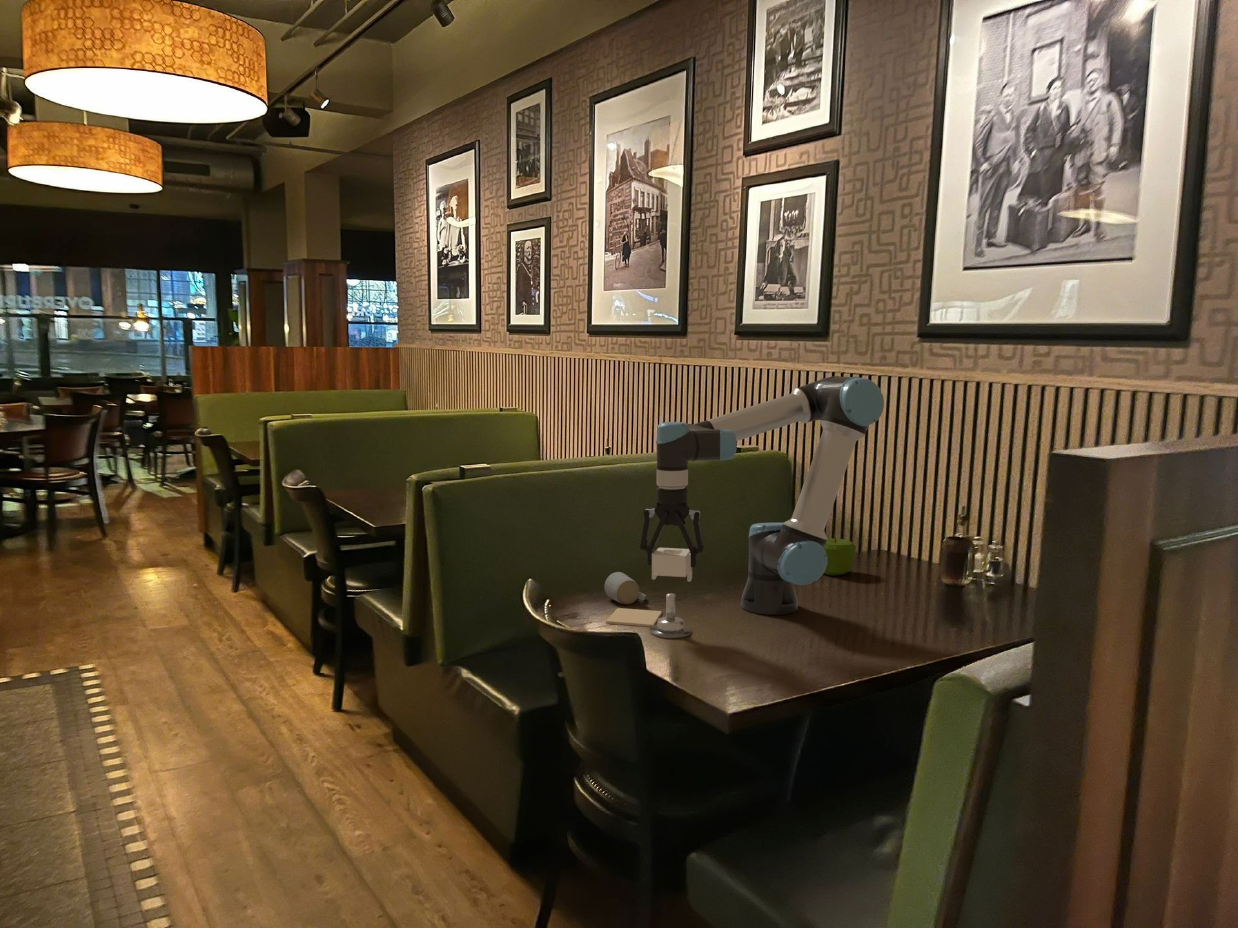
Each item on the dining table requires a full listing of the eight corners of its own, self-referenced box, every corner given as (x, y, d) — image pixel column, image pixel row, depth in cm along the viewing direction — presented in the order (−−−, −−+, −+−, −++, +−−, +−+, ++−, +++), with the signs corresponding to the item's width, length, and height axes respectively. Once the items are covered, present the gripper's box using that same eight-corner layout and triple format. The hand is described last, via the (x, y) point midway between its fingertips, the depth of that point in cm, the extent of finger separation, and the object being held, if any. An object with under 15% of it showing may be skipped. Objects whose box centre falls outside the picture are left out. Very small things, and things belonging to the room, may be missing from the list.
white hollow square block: (690, 568, 220) (690, 549, 219) (685, 577, 212) (685, 556, 211) (658, 567, 222) (658, 547, 221) (652, 575, 214) (652, 554, 213)
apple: (859, 578, 272) (860, 542, 270) (818, 578, 272) (820, 541, 270) (849, 568, 284) (850, 533, 283) (810, 568, 284) (811, 533, 283)
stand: (693, 627, 222) (694, 590, 221) (687, 640, 213) (687, 601, 211) (654, 624, 225) (654, 587, 223) (646, 636, 215) (646, 598, 214)
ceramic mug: (617, 607, 239) (618, 579, 239) (603, 599, 247) (604, 572, 246) (651, 603, 244) (652, 575, 244) (637, 595, 252) (637, 569, 251)
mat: (661, 613, 234) (661, 611, 234) (652, 626, 223) (652, 624, 223) (617, 610, 237) (617, 607, 237) (606, 623, 225) (606, 620, 225)
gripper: (717, 485, 215) (716, 577, 218) (633, 483, 220) (633, 572, 223) (713, 490, 208) (712, 585, 211) (626, 487, 213) (626, 580, 216)
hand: (671, 578), depth 217 cm, fingers closed on white hollow square block, 8 cm apart
